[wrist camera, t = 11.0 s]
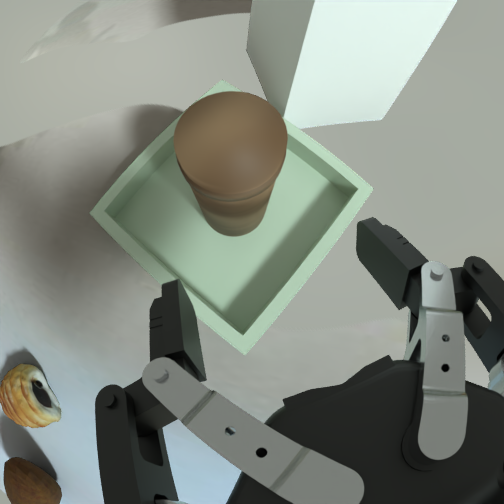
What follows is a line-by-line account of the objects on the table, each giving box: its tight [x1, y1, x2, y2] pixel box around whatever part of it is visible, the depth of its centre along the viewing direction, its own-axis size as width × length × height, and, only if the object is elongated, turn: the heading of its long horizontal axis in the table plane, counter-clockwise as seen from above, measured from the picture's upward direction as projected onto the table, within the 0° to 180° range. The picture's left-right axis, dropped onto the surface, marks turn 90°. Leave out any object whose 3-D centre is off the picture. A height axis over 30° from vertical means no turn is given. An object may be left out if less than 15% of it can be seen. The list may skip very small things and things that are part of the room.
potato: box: [4, 457, 62, 504], centre depth 14 cm, size 7×10×8 cm
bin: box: [89, 80, 374, 355], centre depth 22 cm, size 16×16×3 cm
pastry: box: [0, 364, 61, 428], centre depth 18 cm, size 9×7×4 cm
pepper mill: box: [173, 91, 288, 237], centre depth 17 cm, size 5×5×11 cm
